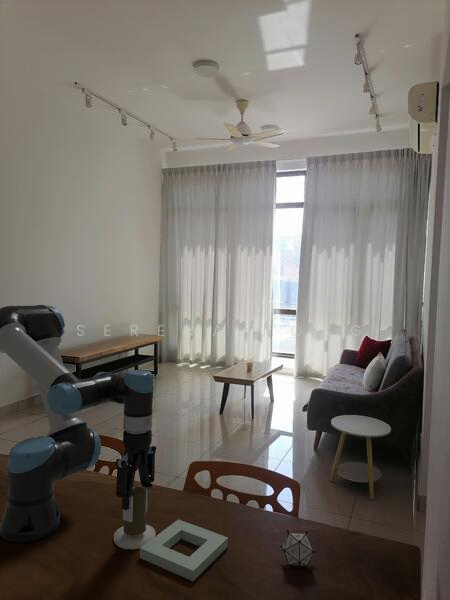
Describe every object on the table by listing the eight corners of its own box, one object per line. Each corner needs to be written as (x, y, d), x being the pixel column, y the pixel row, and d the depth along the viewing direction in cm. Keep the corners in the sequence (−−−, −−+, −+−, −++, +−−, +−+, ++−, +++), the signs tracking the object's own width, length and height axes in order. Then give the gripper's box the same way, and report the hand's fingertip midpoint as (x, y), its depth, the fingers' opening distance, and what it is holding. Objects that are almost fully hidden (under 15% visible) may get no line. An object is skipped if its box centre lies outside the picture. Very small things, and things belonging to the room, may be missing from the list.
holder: (139, 557, 109) (140, 547, 109) (178, 528, 123) (178, 519, 123) (193, 581, 101) (193, 570, 101) (227, 546, 115) (228, 537, 115)
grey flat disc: (104, 540, 116) (104, 537, 116) (133, 522, 125) (133, 519, 125) (136, 554, 110) (136, 551, 110) (163, 534, 120) (163, 531, 120)
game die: (300, 584, 107) (305, 568, 100) (271, 560, 111) (274, 543, 104) (318, 553, 112) (324, 536, 106) (290, 532, 116) (294, 514, 110)
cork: (141, 536, 114) (142, 495, 114) (119, 533, 115) (120, 492, 115) (149, 524, 120) (150, 485, 120) (128, 521, 121) (130, 482, 121)
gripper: (124, 442, 107) (121, 535, 108) (169, 423, 123) (167, 505, 124) (102, 436, 111) (99, 526, 112) (149, 418, 127) (146, 497, 127)
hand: (135, 515), depth 118 cm, fingers closed on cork, 5 cm apart
